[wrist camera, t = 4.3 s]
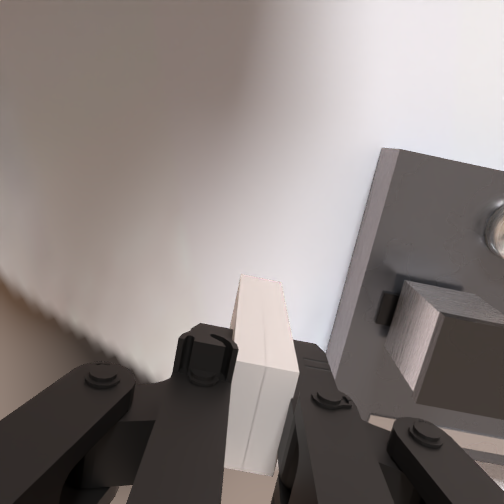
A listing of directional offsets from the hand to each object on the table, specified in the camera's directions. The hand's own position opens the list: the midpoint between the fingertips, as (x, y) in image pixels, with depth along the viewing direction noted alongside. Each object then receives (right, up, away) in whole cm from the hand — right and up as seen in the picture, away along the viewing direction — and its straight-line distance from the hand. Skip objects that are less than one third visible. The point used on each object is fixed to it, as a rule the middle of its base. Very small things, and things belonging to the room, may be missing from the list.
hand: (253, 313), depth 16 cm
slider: (+7, -1, +2) cm, 8 cm away
